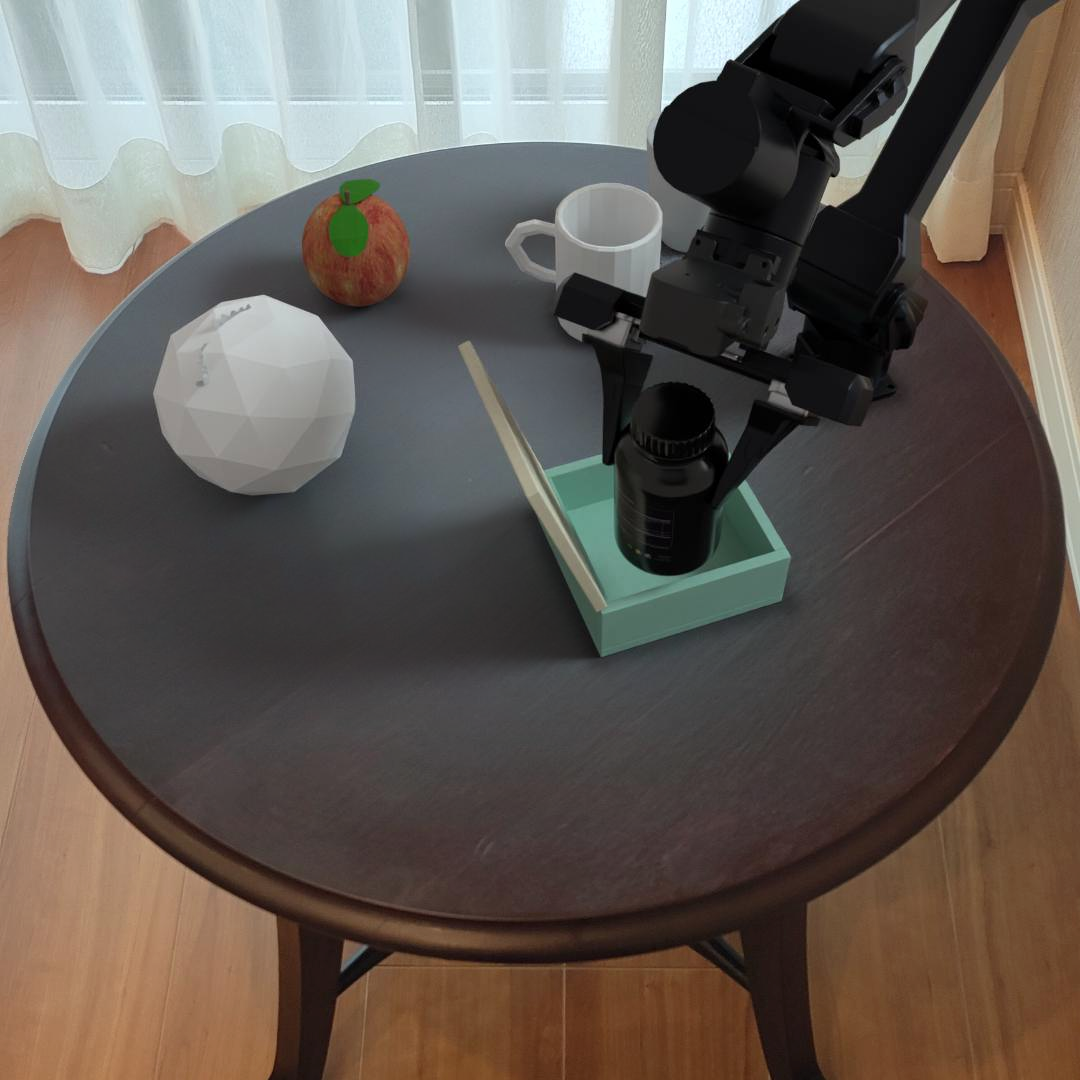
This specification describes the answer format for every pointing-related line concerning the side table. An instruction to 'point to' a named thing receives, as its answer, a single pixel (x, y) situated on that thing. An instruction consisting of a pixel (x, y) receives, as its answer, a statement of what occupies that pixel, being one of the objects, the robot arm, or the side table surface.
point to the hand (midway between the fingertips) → (659, 486)
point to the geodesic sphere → (256, 396)
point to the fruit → (356, 245)
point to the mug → (598, 240)
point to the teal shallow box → (664, 601)
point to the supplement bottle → (669, 481)
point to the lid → (531, 476)
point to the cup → (673, 203)
